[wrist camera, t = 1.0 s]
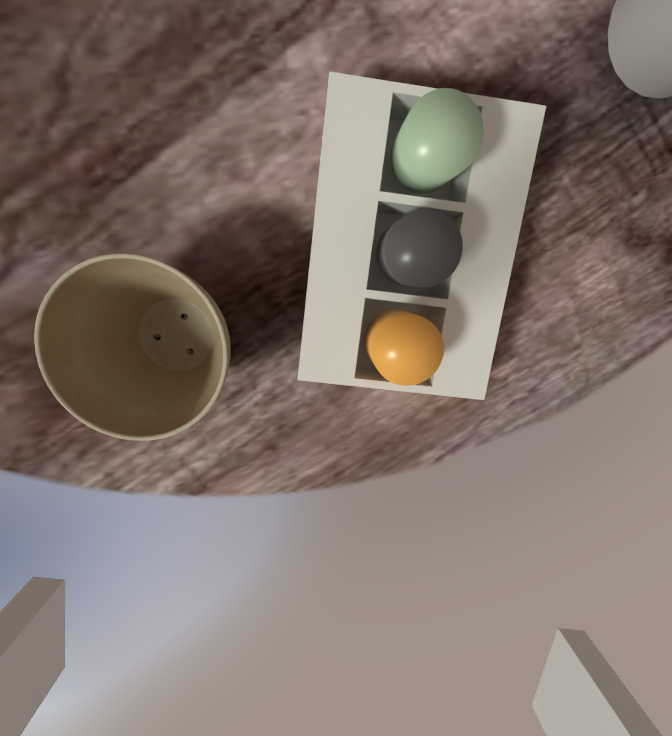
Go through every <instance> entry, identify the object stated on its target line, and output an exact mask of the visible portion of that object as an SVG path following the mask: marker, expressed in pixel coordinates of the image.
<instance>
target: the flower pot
mask: <svg viewBox="0 0 672 736" xmlns="http://www.w3.org/2000/svg"><path fill="white" fill-rule="evenodd" d="M182 314H184V318H183V319H182V317H181V316H182ZM157 337H159V338H160V339H159V340H156V338H157ZM34 338H35V351H36V356H37V360H38V364H39V367H40V371H41V373H42V375H43V378H44V380H45V382H46V383H47V385H48V387H49V389H50V390H51V391H52V393H53V395H54V396H55V397H56V399H57V400H58V401H59V402H60V403H61V404H62V406H63V407H64V408H65V409H66V410H67V411H68V412H70V413H71V414H72V415H73V416H74V417H75V418H77V419H78V420H80V421H81V422H82V423H84V424H85V425H87V426H89V427H91V428H93V429H95V430H97V431H99V432H101V433H104V434H106V435H109V436H113V437H116V438H121V439H126V440H136V441H148V440H156V439H162V438H166V437H169V436H172V435H175V434H177V433H180V432H182V431H184V430H185V429H187V428H189V427H190V426H192V425H194V424H195V423H196V422H198V421H199V420H200V419H201V418H202V417H203V416H204V415H205V414H206V413H207V412H208V411H209V409H210V408H211V407H212V405H213V404H214V403H215V401H216V399H217V398H218V396H219V394H220V392H221V390H222V388H223V385H224V383H225V380H226V377H227V373H228V369H229V363H230V337H229V332H228V328H227V325H226V322H225V319H224V317H223V315H222V313H221V311H220V309H219V307H218V306H217V304H216V303H215V301H214V300H213V299H212V297H211V296H210V295H209V294H208V293H207V291H206V290H205V289H204V288H203V287H202V286H200V285H199V284H198V283H197V282H196V281H195V280H193V279H192V278H191V277H189V276H188V275H186V274H185V273H183V272H182V271H180V270H178V269H176V268H175V267H173V266H171V265H168V264H166V263H164V262H161V261H158V260H156V259H153V258H149V257H146V256H141V255H135V254H124V253H120V254H108V255H101V256H97V257H94V258H91V259H88V260H86V261H83V262H81V263H79V264H77V265H76V266H74V267H73V268H71V269H69V270H68V271H67V272H66V273H64V274H63V275H62V276H61V277H60V278H59V279H58V280H57V281H56V282H55V283H54V284H53V285H52V287H51V288H50V289H49V291H48V292H47V294H46V296H45V297H44V299H43V301H42V303H41V306H40V308H39V311H38V314H37V318H36V324H35V334H34ZM190 349H192V350H193V352H192V351H191V350H190Z"/></svg>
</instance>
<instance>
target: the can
mask: <svg viewBox="0 0 672 736" xmlns="http://www.w3.org/2000/svg"><path fill="white" fill-rule="evenodd" d="M608 47H609V55H610V58H611V61H612V64H613V67H614V70H615V72H616V74H617V75H618V76H619V77H620V79H621V80H622V81H623V82H624V84H625V85H626V86H627V87H628V88H630V89H631V90H633V91H635V92H636V93H638V94H640V95H642V96H645V97H652V98H659V99H661V98H666V97H670V96H672V0H617V1H616V3H615V5H614V7H613V10H612V14H611V19H610V23H609V28H608Z"/></svg>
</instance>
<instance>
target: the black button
mask: <svg viewBox="0 0 672 736" xmlns="http://www.w3.org/2000/svg"><path fill="white" fill-rule="evenodd" d="M462 250H463V241H462V236H461V232H460V230H459V228H458V226H457V224H456V223H455V222H454V220H453V219H452V218H451V217H450V216H448V215H447V214H446V213H444V212H442V211H440V210H437V209H432V208H421V209H417V210H414V211H411V212H409V213H408V214H406V215H405V216H403V217H402V218H400V219H399V220H398V221H396V222H395V223H394V224H392V225H391V226H389V227H388V228H387V229H386V230H385V232H384V233H383V234H382V236H381V238H380V240H379V243H378V246H377V261H378V265H379V267H380V269H381V271H382V273H383V274H384V275H385V276H386V277H387V278H388V279H389V280H390V281H392V282H394V283H396V284H399V285H403V286H413V287H431V286H435V285H438V284H440V283H442V282H443V281H445V280H446V279H447V278H449V277H450V276H451V275H452V273H453V272H454V271H455V270H456V268H457V266H458V264H459V262H460V259H461V256H462Z"/></svg>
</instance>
